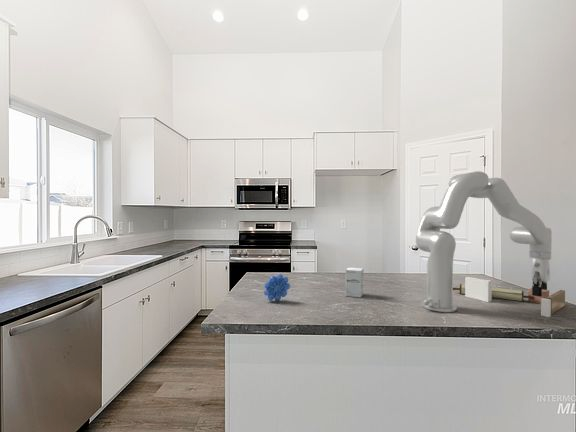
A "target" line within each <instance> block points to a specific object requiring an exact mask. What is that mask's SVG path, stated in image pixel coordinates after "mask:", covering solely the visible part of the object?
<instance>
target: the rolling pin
mask: <svg viewBox="0 0 576 432" xmlns="http://www.w3.org/2000/svg"><path fill="white" fill-rule="evenodd" d="M453 291H459V294H460V295H465V284H462V283H460V284H459V287H454V286H453ZM492 298H494V299H502V300H509V301H510V300H511V301H517V302H518V301H519V302H522V303H524V301H525V300H524V298H525V299H528V298H529V299H534V297H533V296H529V295H525V294H524V290H518V289H509V288H499V287H492Z"/></svg>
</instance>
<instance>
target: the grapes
mask: <svg viewBox="0 0 576 432" xmlns="http://www.w3.org/2000/svg"><path fill="white" fill-rule="evenodd" d="M288 282H289V278H288V276H283V274H282V273H279V274H277V275H276V276H275V275H272V276H270V277H269V278H268V281H267V282H265V283H264V285H263V287H264V288H265V289H264V290H263V295H264V296H267V300H268V301H273V300H274V301H275V302H279V301H281V299H282V298H283V297H284V298H286V296H287V295H288V290H290V288H291V284H290V283H288Z"/></svg>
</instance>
